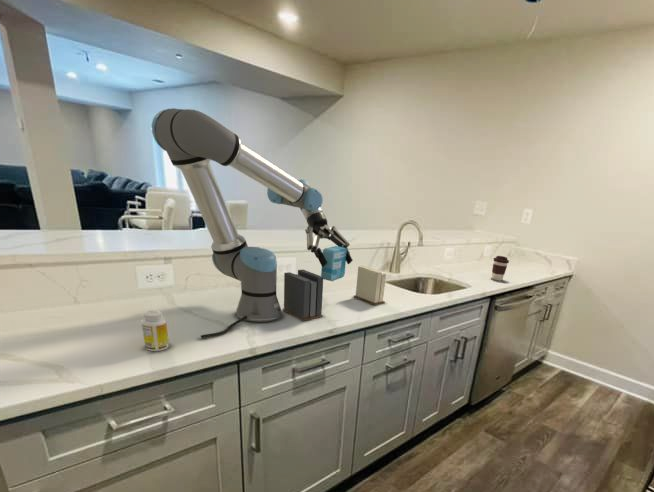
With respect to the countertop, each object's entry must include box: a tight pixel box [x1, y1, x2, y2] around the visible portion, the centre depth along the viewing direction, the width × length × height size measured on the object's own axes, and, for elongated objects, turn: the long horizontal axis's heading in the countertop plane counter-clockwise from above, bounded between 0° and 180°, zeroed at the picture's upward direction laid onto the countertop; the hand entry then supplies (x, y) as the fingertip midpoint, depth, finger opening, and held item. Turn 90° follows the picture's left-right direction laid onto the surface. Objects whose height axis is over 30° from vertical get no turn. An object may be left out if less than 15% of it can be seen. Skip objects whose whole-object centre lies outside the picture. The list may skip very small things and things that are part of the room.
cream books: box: [353, 265, 387, 306], centre depth 170 cm, size 7×13×14 cm, turn 51°
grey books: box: [282, 268, 324, 322], centre depth 143 cm, size 8×13×15 cm, turn 51°
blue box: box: [320, 245, 347, 282], centre depth 150 cm, size 12×4×12 cm, turn 162°
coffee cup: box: [491, 255, 510, 282], centre depth 251 cm, size 10×10×15 cm
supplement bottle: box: [141, 310, 170, 352], centre depth 104 cm, size 6×6×10 cm
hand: (337, 263), depth 149 cm, fingers closed on blue box, 13 cm apart
